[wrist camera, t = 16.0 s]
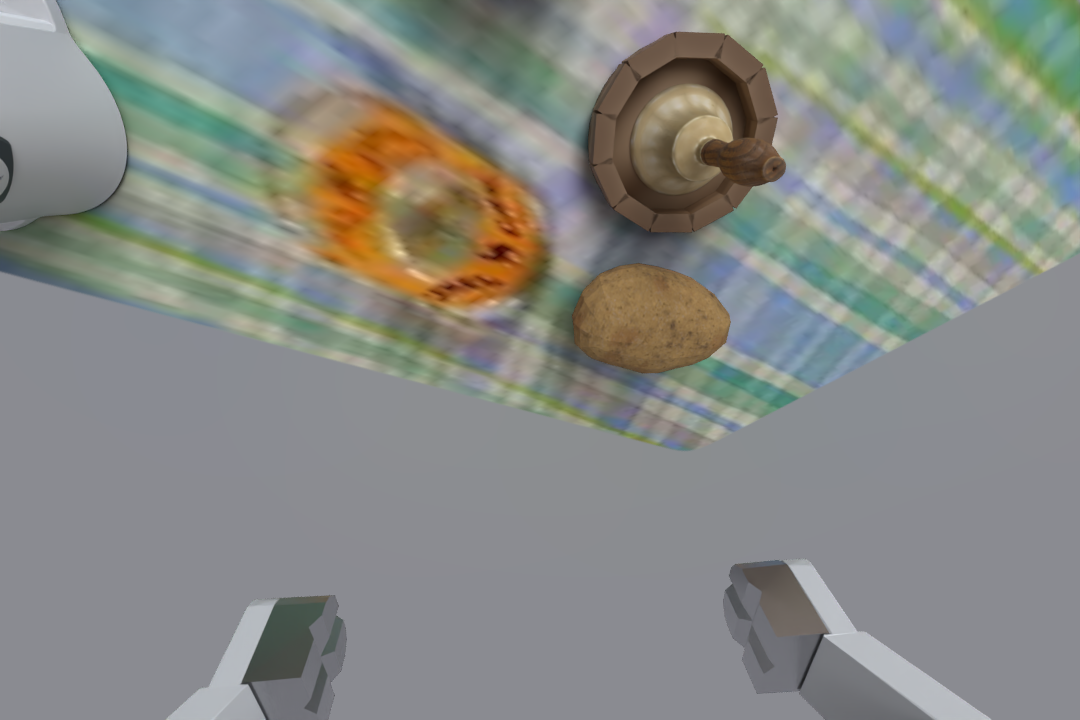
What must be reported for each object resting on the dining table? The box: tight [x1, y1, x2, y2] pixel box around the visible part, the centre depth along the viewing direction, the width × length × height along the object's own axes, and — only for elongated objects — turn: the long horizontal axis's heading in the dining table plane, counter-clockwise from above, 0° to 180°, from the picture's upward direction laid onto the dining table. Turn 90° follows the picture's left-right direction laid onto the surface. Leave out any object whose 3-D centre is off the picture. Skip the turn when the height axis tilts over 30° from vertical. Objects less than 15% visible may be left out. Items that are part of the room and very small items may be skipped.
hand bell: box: [630, 83, 786, 196], centre depth 33 cm, size 8×8×16 cm
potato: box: [572, 263, 731, 373], centre depth 45 cm, size 10×14×8 cm
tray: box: [588, 32, 778, 232], centre depth 40 cm, size 14×14×3 cm
